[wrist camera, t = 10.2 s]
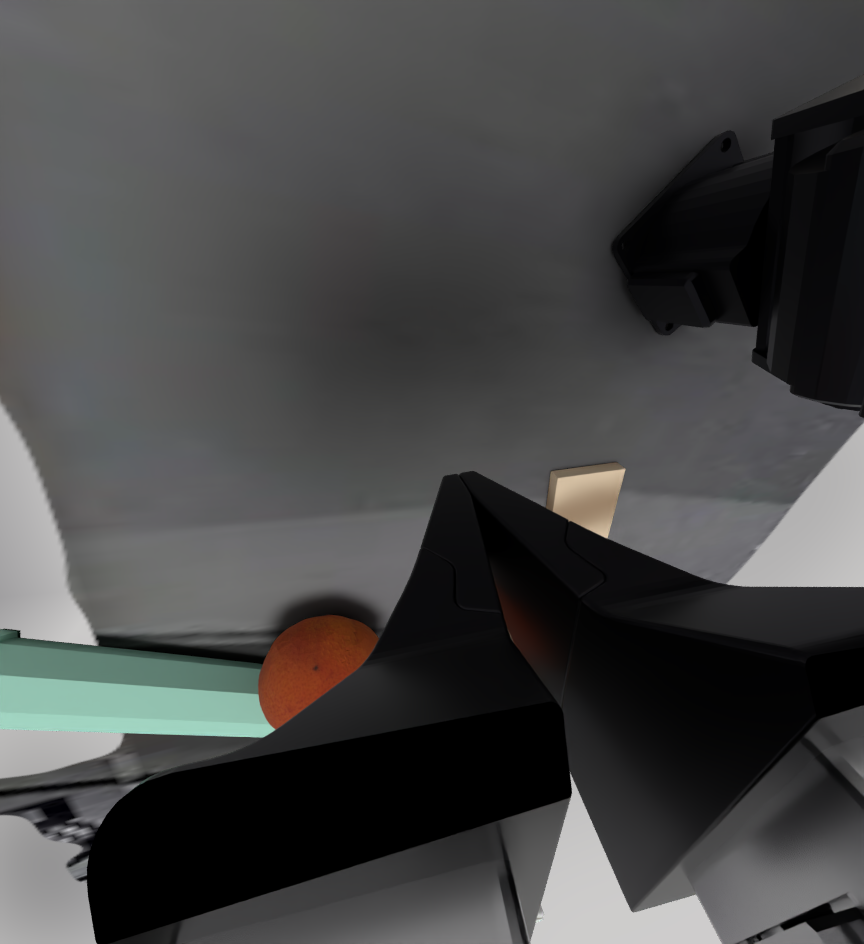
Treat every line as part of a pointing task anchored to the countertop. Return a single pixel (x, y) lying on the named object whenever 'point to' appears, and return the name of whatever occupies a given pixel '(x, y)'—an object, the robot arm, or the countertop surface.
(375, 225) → the countertop surface
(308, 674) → the fruit
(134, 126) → the countertop surface
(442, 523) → the robot arm
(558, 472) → the plank
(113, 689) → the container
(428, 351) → the countertop surface
